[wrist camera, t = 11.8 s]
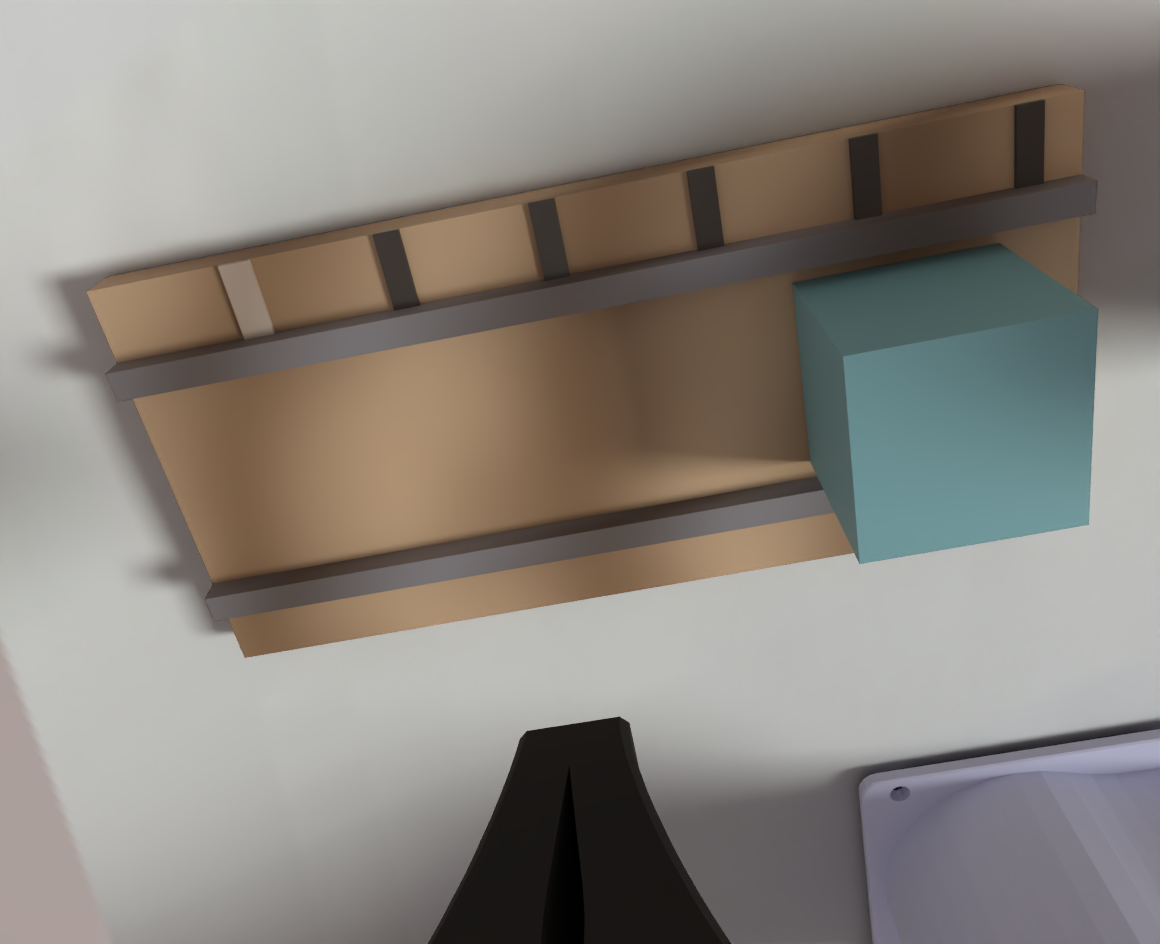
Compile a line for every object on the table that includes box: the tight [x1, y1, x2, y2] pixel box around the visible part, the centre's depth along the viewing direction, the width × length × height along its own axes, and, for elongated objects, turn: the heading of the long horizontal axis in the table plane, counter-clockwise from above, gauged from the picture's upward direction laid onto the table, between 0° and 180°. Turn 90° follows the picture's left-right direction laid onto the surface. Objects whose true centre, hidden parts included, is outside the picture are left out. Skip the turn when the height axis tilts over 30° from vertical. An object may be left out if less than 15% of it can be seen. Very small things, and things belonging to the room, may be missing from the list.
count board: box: [87, 84, 1097, 658], centre depth 21 cm, size 19×9×2 cm, turn 101°
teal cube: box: [792, 243, 1098, 564], centre depth 19 cm, size 4×4×4 cm
